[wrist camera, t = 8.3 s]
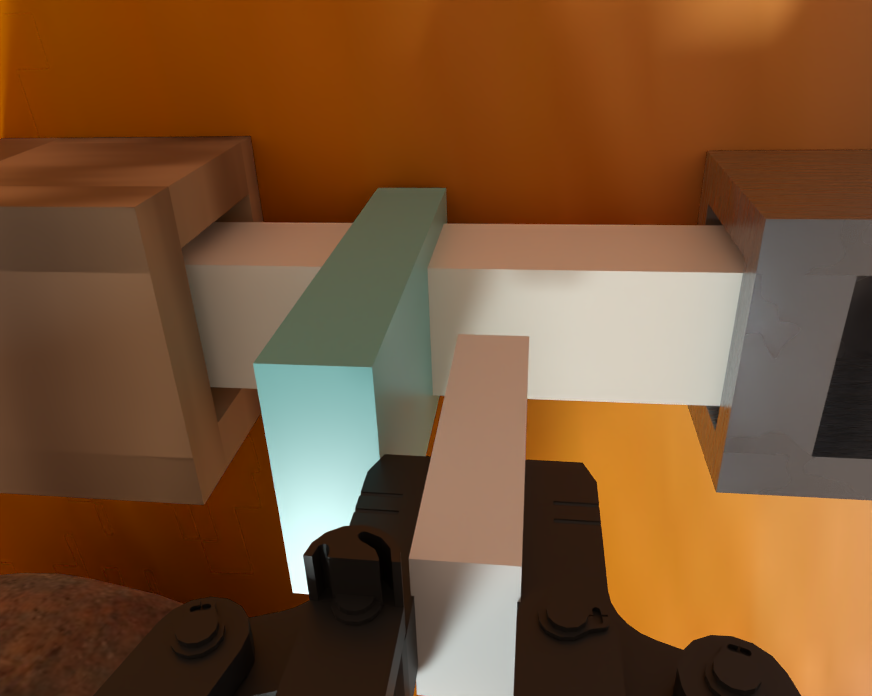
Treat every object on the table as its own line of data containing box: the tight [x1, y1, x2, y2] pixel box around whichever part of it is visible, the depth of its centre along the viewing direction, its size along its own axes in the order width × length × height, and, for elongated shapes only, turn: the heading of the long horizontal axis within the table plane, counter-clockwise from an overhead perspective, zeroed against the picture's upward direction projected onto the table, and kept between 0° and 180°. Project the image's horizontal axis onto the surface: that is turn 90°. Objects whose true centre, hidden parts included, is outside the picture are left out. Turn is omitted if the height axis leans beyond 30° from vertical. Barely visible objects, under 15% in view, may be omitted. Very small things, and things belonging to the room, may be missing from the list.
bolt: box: [181, 188, 745, 594], centre depth 17 cm, size 16×5×10 cm, turn 92°
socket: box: [0, 136, 263, 505], centre depth 21 cm, size 8×8×7 cm
